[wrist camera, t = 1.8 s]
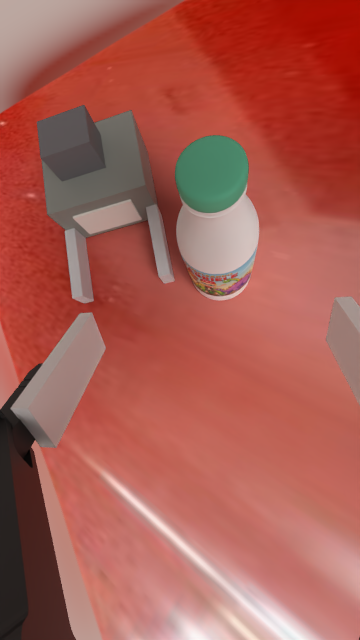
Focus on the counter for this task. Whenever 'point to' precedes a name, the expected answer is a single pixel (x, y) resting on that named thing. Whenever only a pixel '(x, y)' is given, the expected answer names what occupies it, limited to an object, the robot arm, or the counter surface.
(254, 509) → the counter surface
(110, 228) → the stacked grey blocks
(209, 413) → the counter surface
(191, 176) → the milk bottle
